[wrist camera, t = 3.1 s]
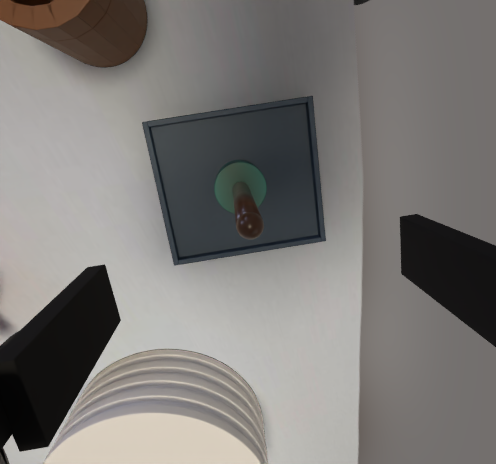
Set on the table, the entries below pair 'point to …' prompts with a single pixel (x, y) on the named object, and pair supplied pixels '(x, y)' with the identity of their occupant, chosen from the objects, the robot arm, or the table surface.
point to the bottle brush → (242, 195)
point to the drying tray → (228, 149)
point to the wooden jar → (82, 26)
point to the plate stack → (164, 415)
